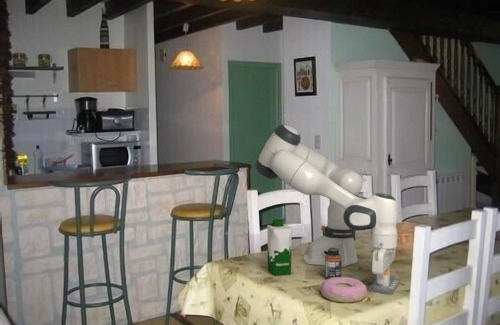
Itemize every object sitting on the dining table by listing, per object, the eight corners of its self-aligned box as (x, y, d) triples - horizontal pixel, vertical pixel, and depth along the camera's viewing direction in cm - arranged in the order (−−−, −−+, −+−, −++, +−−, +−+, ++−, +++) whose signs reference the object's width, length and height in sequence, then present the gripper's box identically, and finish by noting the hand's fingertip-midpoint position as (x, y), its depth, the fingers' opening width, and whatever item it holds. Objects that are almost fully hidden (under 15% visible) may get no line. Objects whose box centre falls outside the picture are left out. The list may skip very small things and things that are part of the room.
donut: (342, 308, 160) (342, 293, 159) (311, 294, 172) (311, 280, 172) (377, 298, 168) (377, 283, 168) (344, 285, 181) (344, 272, 180)
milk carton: (286, 268, 201) (286, 218, 199) (294, 275, 192) (294, 223, 191) (265, 270, 199) (265, 219, 197) (272, 277, 190) (272, 224, 188)
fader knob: (378, 282, 179) (379, 268, 178) (389, 284, 177) (390, 269, 176) (376, 286, 175) (376, 271, 175) (387, 287, 173) (387, 272, 173)
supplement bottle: (330, 275, 192) (330, 245, 191) (344, 278, 188) (344, 248, 187) (322, 279, 188) (322, 249, 187) (336, 282, 184) (336, 251, 183)
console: (378, 279, 187) (378, 273, 187) (400, 282, 183) (400, 276, 183) (369, 291, 175) (369, 284, 174) (392, 294, 171) (392, 288, 171)
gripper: (387, 249, 164) (386, 290, 165) (398, 235, 182) (398, 273, 183) (367, 246, 167) (366, 287, 168) (381, 233, 185) (380, 270, 186)
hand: (383, 279), depth 176 cm, fingers open, 6 cm apart
